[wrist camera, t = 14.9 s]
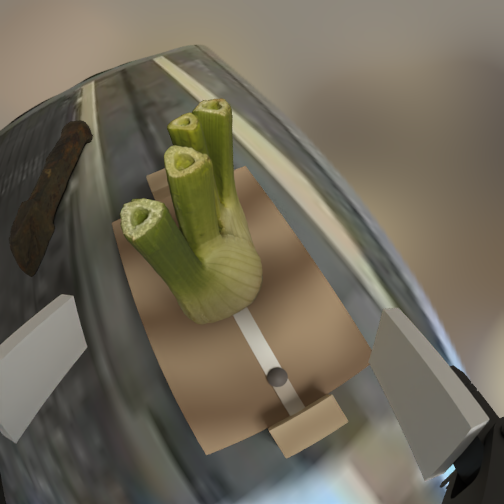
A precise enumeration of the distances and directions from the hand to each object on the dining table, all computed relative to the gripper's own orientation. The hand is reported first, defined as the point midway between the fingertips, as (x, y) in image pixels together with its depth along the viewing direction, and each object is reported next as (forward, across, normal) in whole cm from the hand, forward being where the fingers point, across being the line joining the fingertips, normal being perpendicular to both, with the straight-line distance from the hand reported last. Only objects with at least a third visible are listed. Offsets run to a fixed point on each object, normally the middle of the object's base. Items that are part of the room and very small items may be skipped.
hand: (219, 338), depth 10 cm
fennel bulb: (+7, -1, -1) cm, 7 cm away
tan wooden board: (+9, 0, -2) cm, 9 cm away
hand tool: (+16, -20, +4) cm, 26 cm away
